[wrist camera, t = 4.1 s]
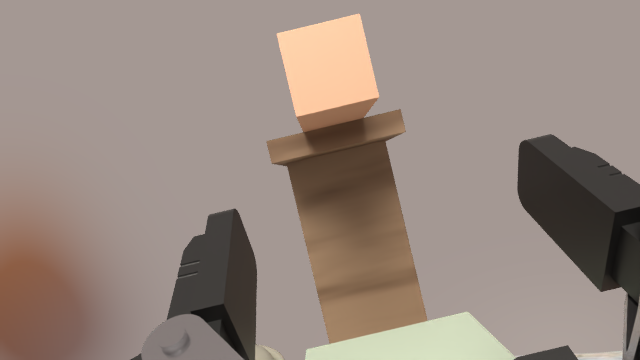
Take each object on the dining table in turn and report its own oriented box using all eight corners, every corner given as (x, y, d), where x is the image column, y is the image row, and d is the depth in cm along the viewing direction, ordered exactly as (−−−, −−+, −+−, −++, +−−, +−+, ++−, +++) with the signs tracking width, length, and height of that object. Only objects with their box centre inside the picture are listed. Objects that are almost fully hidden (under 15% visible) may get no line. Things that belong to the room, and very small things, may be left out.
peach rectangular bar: (379, 96, 20) (359, 13, 20) (296, 116, 21) (276, 33, 20) (350, 135, 41) (340, 94, 41) (309, 144, 42) (299, 103, 41)
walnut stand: (517, 607, 29) (400, 109, 28) (385, 637, 29) (266, 141, 29) (456, 472, 42) (375, 128, 41) (366, 493, 42) (283, 150, 42)
